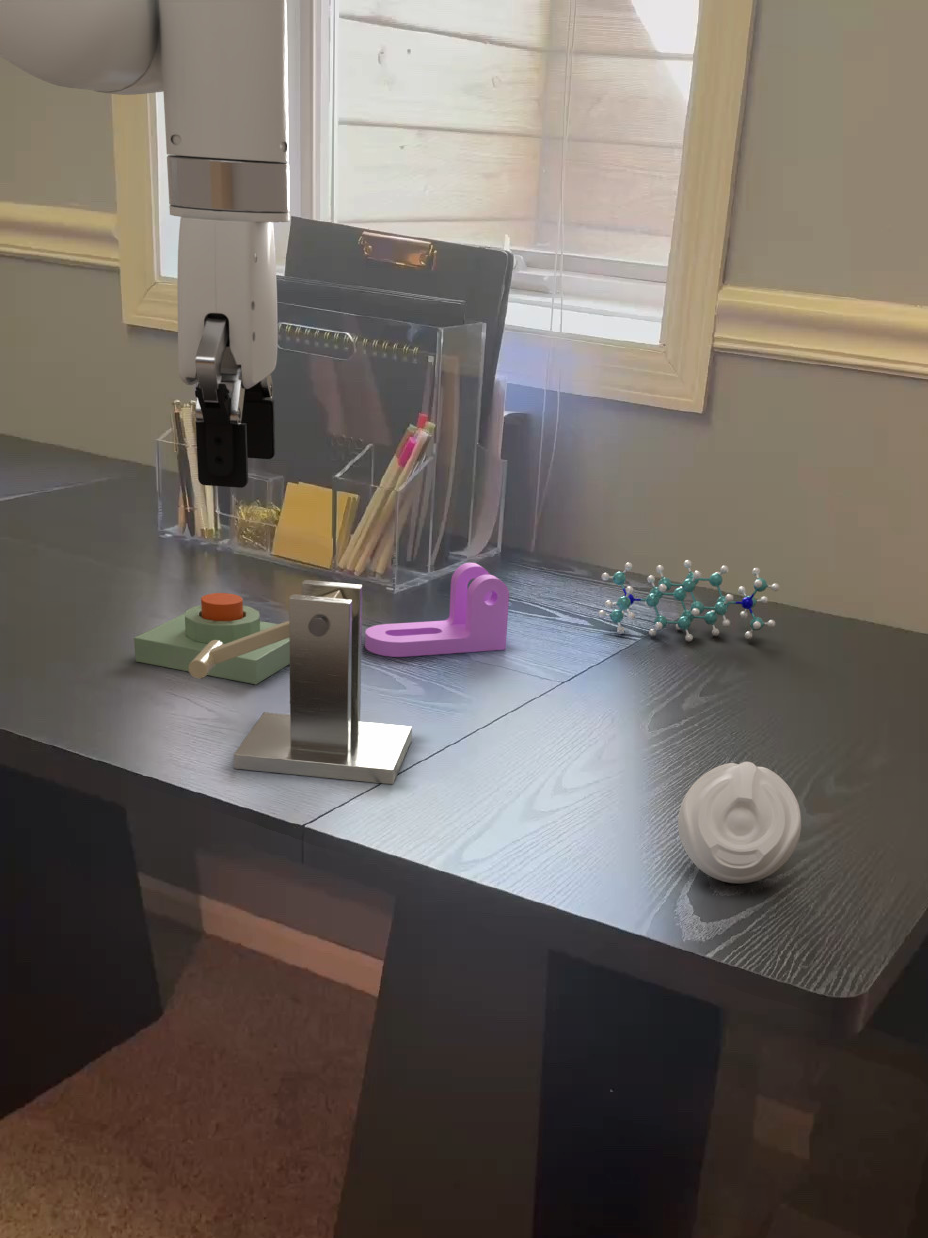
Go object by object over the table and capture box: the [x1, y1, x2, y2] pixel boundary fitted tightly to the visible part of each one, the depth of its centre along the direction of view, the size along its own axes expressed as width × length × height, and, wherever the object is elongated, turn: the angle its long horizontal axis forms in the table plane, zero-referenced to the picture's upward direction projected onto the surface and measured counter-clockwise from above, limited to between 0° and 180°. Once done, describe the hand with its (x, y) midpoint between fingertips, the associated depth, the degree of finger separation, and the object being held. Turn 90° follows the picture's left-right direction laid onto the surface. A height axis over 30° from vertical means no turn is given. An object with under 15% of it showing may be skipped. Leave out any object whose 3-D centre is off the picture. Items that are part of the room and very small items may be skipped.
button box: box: [133, 604, 290, 685], centre depth 123 cm, size 12×10×4 cm
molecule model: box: [597, 559, 780, 643], centre depth 138 cm, size 8×18×7 cm, turn 96°
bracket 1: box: [233, 579, 413, 785], centre depth 103 cm, size 12×9×13 cm
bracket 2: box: [364, 562, 510, 658], centre depth 130 cm, size 13×6×7 cm, turn 113°
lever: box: [188, 590, 353, 680], centre depth 102 cm, size 12×5×2 cm, turn 84°
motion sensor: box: [677, 761, 802, 884], centre depth 91 cm, size 8×8×8 cm
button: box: [200, 592, 244, 621], centre depth 122 cm, size 4×4×2 cm
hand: (238, 470), depth 95 cm, fingers open, 9 cm apart
